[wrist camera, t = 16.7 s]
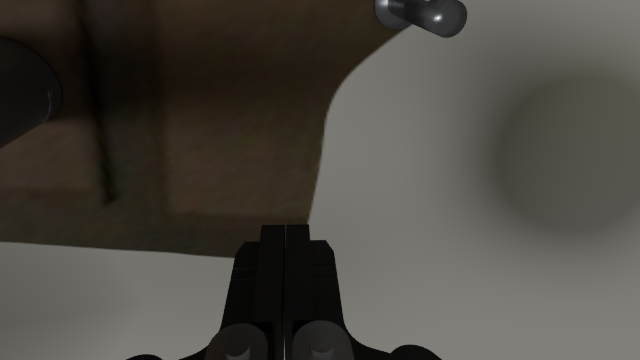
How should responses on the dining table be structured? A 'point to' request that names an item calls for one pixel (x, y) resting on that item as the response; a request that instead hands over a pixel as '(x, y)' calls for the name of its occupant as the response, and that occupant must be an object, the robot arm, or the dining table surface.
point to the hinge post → (422, 15)
